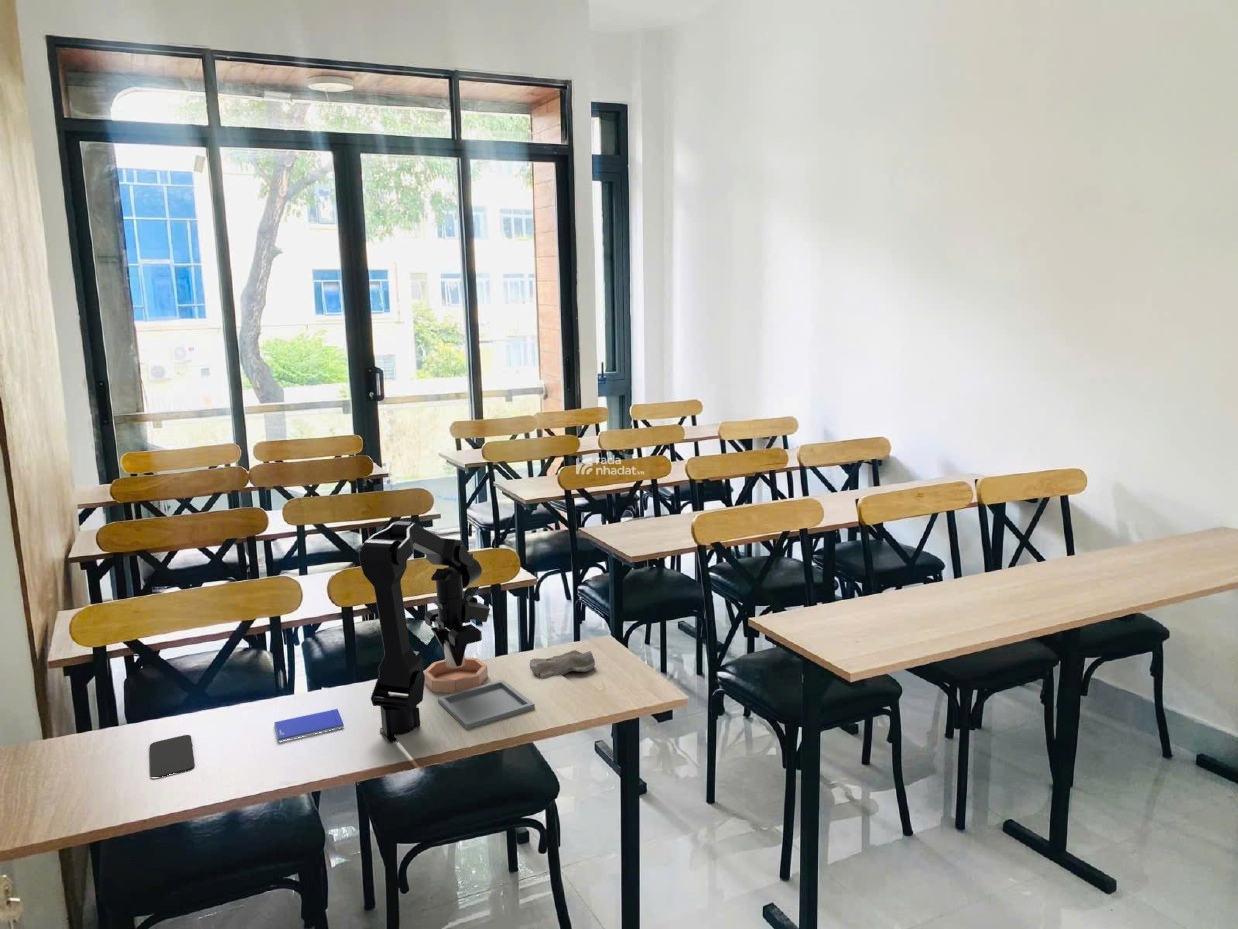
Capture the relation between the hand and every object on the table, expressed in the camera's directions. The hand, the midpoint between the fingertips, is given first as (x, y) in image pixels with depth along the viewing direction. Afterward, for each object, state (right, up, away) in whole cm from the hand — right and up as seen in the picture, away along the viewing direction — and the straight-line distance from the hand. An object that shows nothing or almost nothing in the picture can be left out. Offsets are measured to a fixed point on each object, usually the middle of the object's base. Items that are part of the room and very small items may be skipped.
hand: (454, 662), depth 194 cm
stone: (+23, -4, +6) cm, 24 cm away
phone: (-49, -12, -27) cm, 57 cm away
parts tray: (+9, -7, -12) cm, 17 cm away
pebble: (0, -1, 0) cm, 1 cm away
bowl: (0, -5, +1) cm, 5 cm away
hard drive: (-26, -10, -17) cm, 33 cm away
